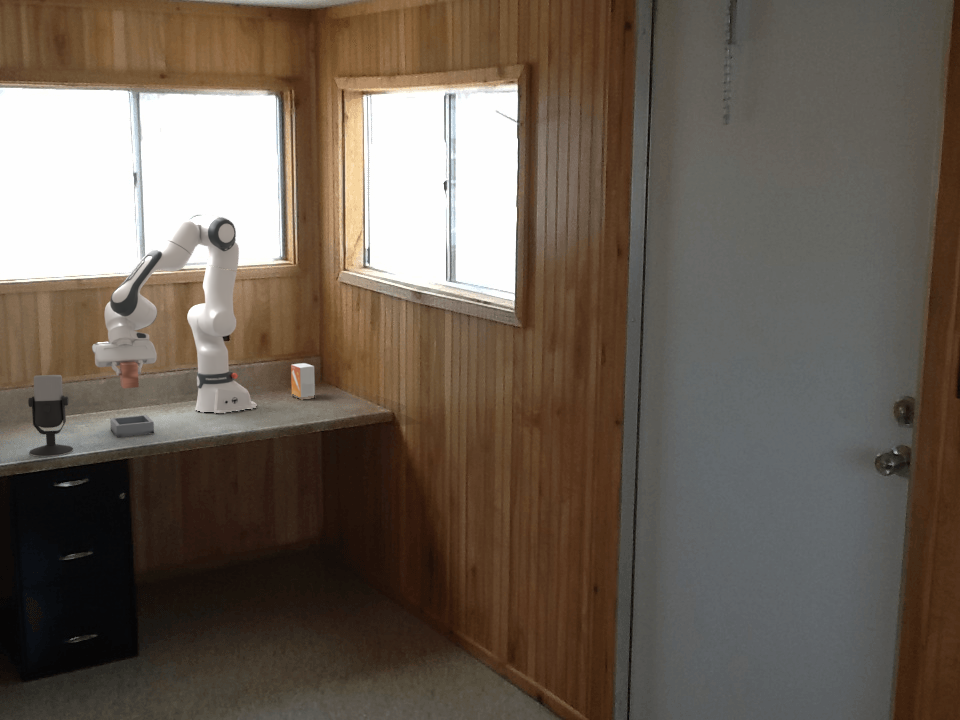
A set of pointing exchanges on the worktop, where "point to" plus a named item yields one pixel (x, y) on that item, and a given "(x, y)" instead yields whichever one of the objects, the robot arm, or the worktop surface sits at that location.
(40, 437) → the worktop surface
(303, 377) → the small box
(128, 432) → the bin
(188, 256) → the robot arm
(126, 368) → the red block
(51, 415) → the microphone
